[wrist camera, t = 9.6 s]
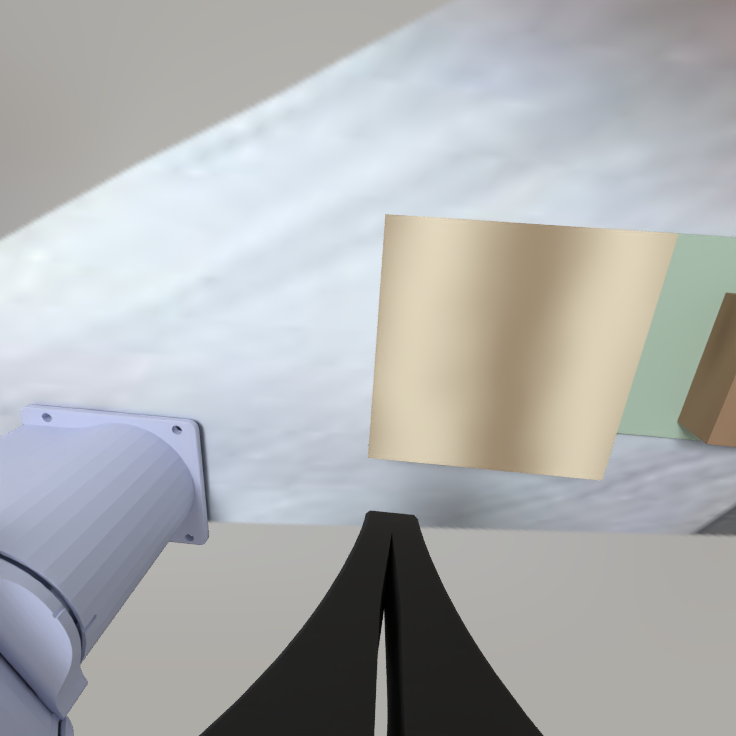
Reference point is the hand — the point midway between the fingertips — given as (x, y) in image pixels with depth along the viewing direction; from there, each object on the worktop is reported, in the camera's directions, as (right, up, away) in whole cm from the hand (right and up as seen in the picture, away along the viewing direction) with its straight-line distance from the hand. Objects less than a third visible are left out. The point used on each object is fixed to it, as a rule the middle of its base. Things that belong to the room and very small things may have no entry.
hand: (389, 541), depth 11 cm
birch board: (+5, +6, +7) cm, 11 cm away
